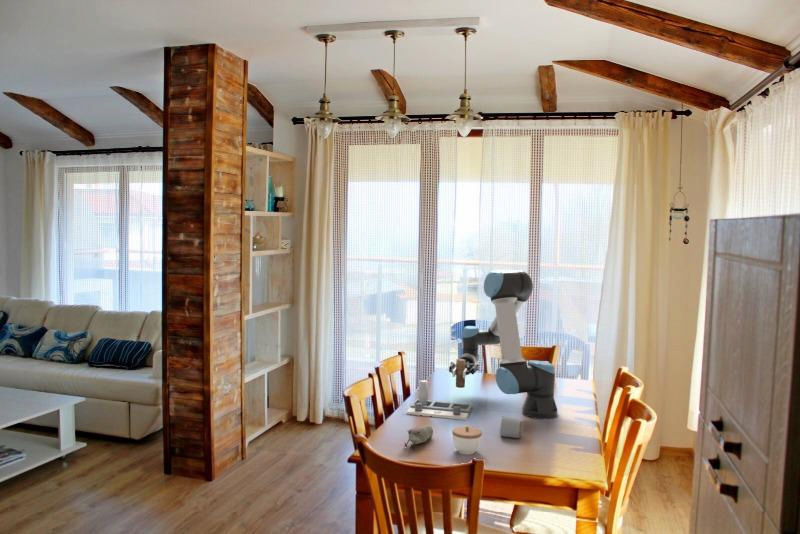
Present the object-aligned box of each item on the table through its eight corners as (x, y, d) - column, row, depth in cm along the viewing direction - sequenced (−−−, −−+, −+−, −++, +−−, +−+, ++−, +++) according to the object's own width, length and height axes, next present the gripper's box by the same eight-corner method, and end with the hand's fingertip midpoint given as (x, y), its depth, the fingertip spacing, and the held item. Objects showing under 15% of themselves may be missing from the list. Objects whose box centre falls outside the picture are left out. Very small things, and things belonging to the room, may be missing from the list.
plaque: (468, 415, 261) (468, 406, 260) (466, 420, 255) (466, 410, 254) (410, 410, 267) (410, 400, 267) (406, 414, 262) (406, 404, 261)
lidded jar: (486, 450, 220) (487, 425, 220) (473, 459, 211) (474, 433, 211) (460, 444, 226) (460, 419, 225) (446, 452, 217) (447, 427, 216)
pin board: (472, 408, 271) (472, 382, 271) (468, 415, 261) (469, 388, 260) (416, 403, 278) (416, 377, 278) (410, 409, 268) (410, 383, 267)
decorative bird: (436, 439, 231) (437, 420, 230) (413, 452, 218) (414, 432, 217) (425, 436, 234) (425, 418, 233) (401, 449, 221) (401, 429, 220)
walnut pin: (465, 387, 265) (466, 360, 265) (457, 387, 265) (457, 361, 264) (463, 385, 269) (464, 358, 269) (454, 385, 269) (455, 359, 268)
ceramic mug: (521, 441, 230) (521, 421, 230) (499, 438, 232) (500, 419, 232) (523, 432, 240) (524, 413, 240) (502, 430, 243) (503, 411, 242)
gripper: (484, 372, 282) (477, 384, 259) (449, 369, 286) (439, 381, 264) (485, 356, 281) (478, 367, 259) (449, 353, 286) (439, 364, 263)
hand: (458, 374), depth 261 cm, fingers closed on walnut pin, 4 cm apart
